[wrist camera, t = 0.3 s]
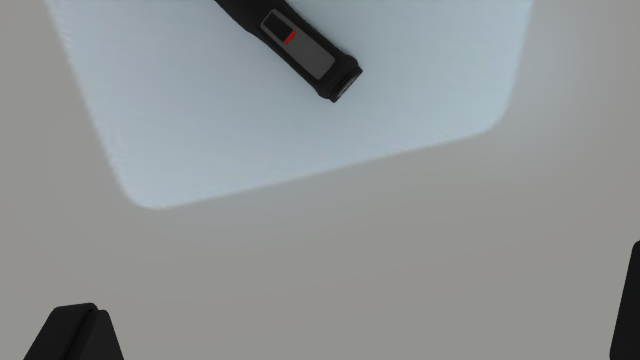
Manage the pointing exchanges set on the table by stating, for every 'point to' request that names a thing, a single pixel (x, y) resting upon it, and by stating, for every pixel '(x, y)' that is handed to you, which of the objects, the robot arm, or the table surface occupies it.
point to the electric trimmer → (296, 44)
